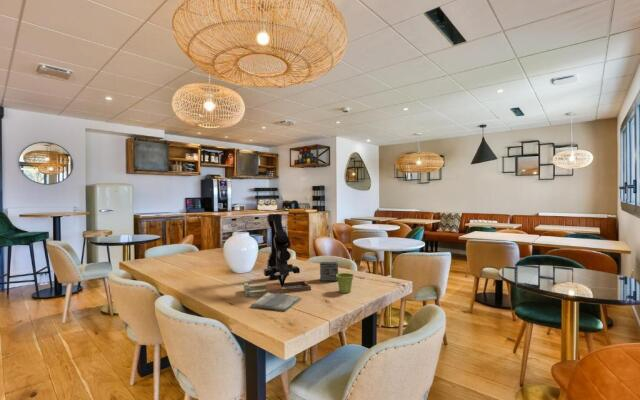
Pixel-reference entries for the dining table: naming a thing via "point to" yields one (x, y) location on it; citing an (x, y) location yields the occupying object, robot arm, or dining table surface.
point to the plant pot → (345, 282)
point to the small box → (328, 271)
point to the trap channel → (289, 288)
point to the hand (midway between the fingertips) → (282, 286)
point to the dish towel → (276, 302)
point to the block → (273, 286)
